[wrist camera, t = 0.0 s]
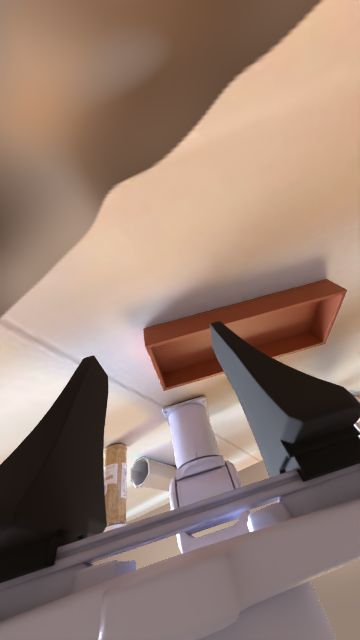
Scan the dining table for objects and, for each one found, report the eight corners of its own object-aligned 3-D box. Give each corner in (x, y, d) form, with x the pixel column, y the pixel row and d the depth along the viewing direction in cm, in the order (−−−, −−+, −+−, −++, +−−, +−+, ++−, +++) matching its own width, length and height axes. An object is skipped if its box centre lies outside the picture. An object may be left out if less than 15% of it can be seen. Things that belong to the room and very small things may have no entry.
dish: (310, 330, 31) (325, 343, 28) (160, 373, 29) (163, 391, 27) (327, 278, 25) (347, 289, 23) (143, 328, 24) (144, 346, 21)
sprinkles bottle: (106, 443, 38) (98, 546, 28) (130, 442, 40) (130, 538, 30) (101, 453, 40) (92, 553, 30) (123, 452, 42) (122, 545, 32)
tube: (204, 486, 57) (152, 474, 42) (191, 500, 56) (134, 493, 41) (194, 467, 61) (144, 451, 46) (182, 480, 61) (127, 468, 46)
